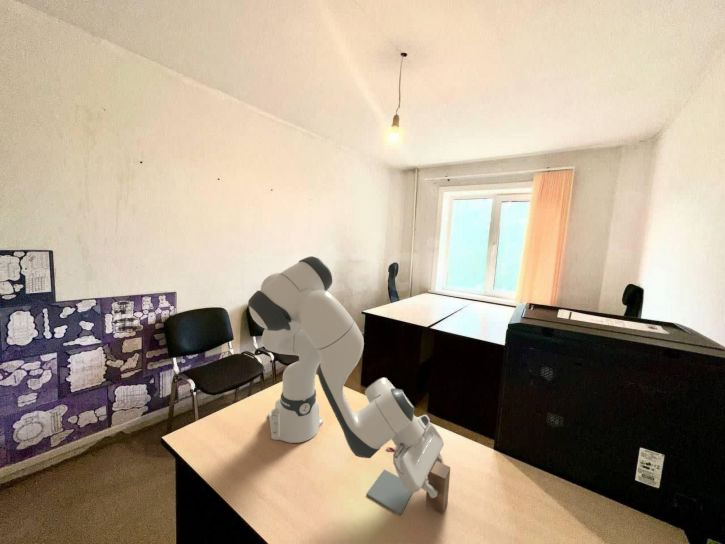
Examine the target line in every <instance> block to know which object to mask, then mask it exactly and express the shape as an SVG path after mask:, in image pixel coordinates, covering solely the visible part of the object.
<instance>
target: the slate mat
mask: <svg viewBox="0 0 725 544" xmlns="http://www.w3.org/2000/svg"><path fill="white" fill-rule="evenodd" d="M412 495H413V493H409V492H407V491H406V489H405V487H404V485H403V484H402V482H401V480H400V478H399V476H398V475H396V474H394V473H392V472H390V471H388V470H386V469H383V470H382V472H381V473H380V475H379V476H378V477H377V479H376V480H375V481H374V483H373V484H372V485H371V487H370V488H369V489H368V491H367V492H366V496H367V497H369V498H371V499H372V500H374V501H375V502H377V503H379V504H381V506H384V507H386V508H387V509H389V510H391V511H392V512H394V513H396V515H399V516H401V515H402V513H403V511H404V509H405V508H406V506H407V504H408V502H409V501H410V498H411V497H412Z"/></svg>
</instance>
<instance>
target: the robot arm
mask: <svg viewBox="0 0 725 544" xmlns="http://www.w3.org/2000/svg"><path fill="white" fill-rule="evenodd" d="M261 283H262V284H261V286H260V289H259V290H256V292H255V293H253V295H251V297H250V298H249V299H248V303H247V307H248V309H249V313H250V316H251V318H252V320H253V321H254V322H255V323H256V324H257V325H258V326H259V327H261V328H263V329H264V330H263V332H262V336H261V343H262V345H263V347H264V348H265V350H267V351H269V352H273V353H276V354H279V355H289V356H298V360H297V361H295V362H293V363H291V364H289V365H288V366H286V368H285V369H284V370H283V373H282V388H281V389H282V390H281V391H282V392H281V394H280V398H279V399H278V400H276V401H275V403H274V408H273V409H271V411H270V412H269V413H268V422H269V428H270V429H269V430H270V437H271V439H272V440H275V441H283V442H286V443H291V444H294V443H295V444H297V443H298V444H299V443H303V442H306V441H308V440H311V439H312V438H313V437H315V436H316V435H317V433H318V432H319V428H320V426H322V424H323V423H324V421H323V420H324V419H323V418H322V417H321V415H320V403H319V402H318V401H317V400H316V399H317V392H316V391H317V390H316V388H315V387H316V375H317V378H318V380H319V383H320V386H321V388H322V390H323V392H324V393H323V394H324V395H325V397H326V398H327V401H328V404H329V406H330V407H331V410H332V411H333V413H334V415H335V418H336V420H337V422H338V424H339V425H340V428H341V431H342V432H343V435H344V438H345V442H346V444H347V446H348V448H349V450H350V451H351V452H352V453H353V455H354V456H356V457H357V458H363V459H371V458H372V457H373V456H374V455H375V454H376V453H377V452H378V451H379V450H380V449H381V448H382V447H383V446H384V445H386V444H387V443H389V441H392V442H393V444H394V445H395V447H396V448H397V450H396V451H393V454H392V457H393V459H392V460H393V461H392V464H393V466H394V467H395V471H396V473H397V476H398V477H399V478H400V480H401V482H402V484H403V485H404V487H405V489H406V491H407V492H409V493H412V494H415V493H417V492H419V491H420V490H421V489H422V490H424V492H426V491H427V492H428V493H429V495H430V497H431V498H435V497H436V496H437V494H438V490H437V489H436V487H435V486H431V485H430V484H428V482H429V481H428V479H427V476H428V474H429V472H430V470H431V468H432V466H433V464H434V462H435V461H438V462H440V463H442V464H445V463H444V460H443V456H442V454H441V451H442V450H443V447H444V445H445V444H444V440H443V437H442V436H441V434H440V433H439V431H438V429H437V428H436V427H435V426H434V424H433V423H432V422H431V421H430V420H431V419H430V417H429V416H428V415H427V414H423V415H420V416H418V417H416V416H415V413H414V412H415V406H414V405H413V404H412V402H411V401H410V399H409V398H408V397H407V396H406V394H405V393H404V390H403V389H399V388H396V387H395V386H394V385H393V384H392V382H391V381H390V380H388V378H387V377H380V378H378V379H376V380H375V381H374V382H372V383H370V385H368V386H367V388H366V389H365V391H364V393H365V396H366V399H367V401H368V404H366V405H365V406H364V407H362V408H361V409H360V410H359V411H353V409H352V407H351V405H350V403H349V401H348V400H347V397H346V395H345V393H344V386H345V383H346V381H348V378H349V376H350V375H351V373H352V372H353V371H354V369H355V368H356V366H357V365H358V363H359V361H360V359H361V357H362V355H363V351H364V345H365V342H364V336H363V333H362V332H361V329H360V328H359V326H358V324H357V323H356V321H355V320H354V318H353V317H352V316H351V315H350V313H349V312H348V311H347V309H346V308H345V307H344V306H343V305H342V303H341V302H340V301H339V300H338V299H337V298H336V297H335V296H334V295H333V294H331V293H330V292H329V291H328V290H329V289H330V288H331V287H332V284H333V275H332V273H331V270H330V268H329V267H328V265H327V264H326V263H325V262H324V261H323V260H322V259H320V258H319V257H317V256H316V257H315V256H307V257H305V258H301V259H300V260H299V261H298V262H297V263H295V264H293V265H291V266H289V267H288V268H286V269H285V270H283V271H281V272H276V273H273V274H270V275H268V276H267V277H266V278H265V279H264V280H263V281H262V282H261Z"/></svg>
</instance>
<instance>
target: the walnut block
mask: <svg viewBox="0 0 725 544" xmlns="http://www.w3.org/2000/svg"><path fill="white" fill-rule="evenodd" d="M450 475H451V466H449V465H447V464H445V463H444V464H442V463H440V462H438V461H435V462H434V464H433V466H432V468H431V470H430V472H429V474H428V476H427V479H428V481H429V482H428V484H430V485H431V486H435V487H436V489H437V490H438V494H437V496H436V497H435V498H431V497H430V495H429V493H428V492H427V491H425V492H426V495H425V507H428V508H429V509H431V510H433V511H435V512H436V513H438V514H440V515H442V516H443V515H444V513H445V509H446V507H447V505H448V502H449V491H450V489H449V488H450V477H451V476H450Z"/></svg>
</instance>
